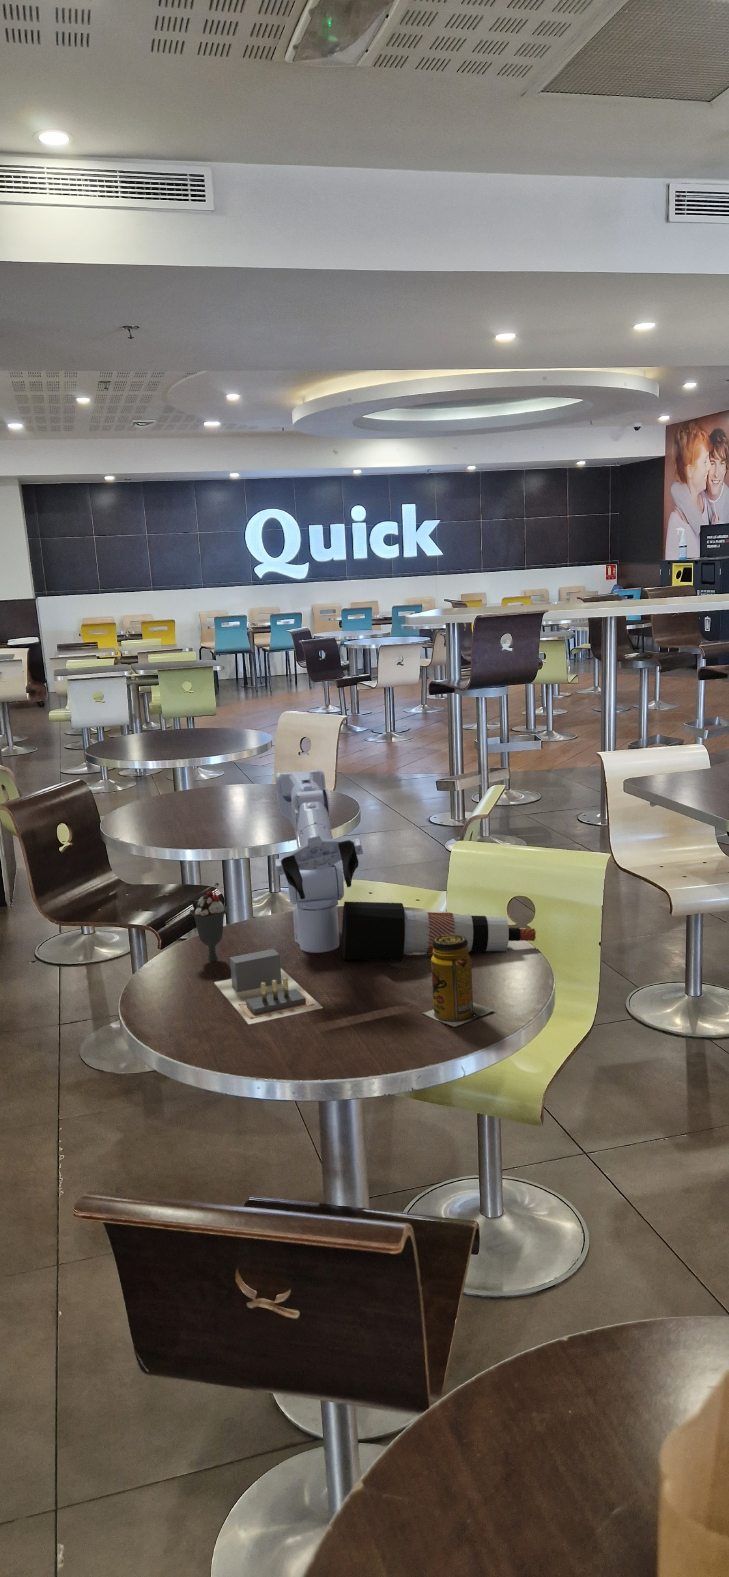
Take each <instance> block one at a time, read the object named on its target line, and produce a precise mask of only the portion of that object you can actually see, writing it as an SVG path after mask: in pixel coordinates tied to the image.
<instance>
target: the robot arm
mask: <svg viewBox="0 0 729 1577" xmlns="http://www.w3.org/2000/svg"><path fill="white" fill-rule="evenodd" d="M325 778H326V777H325V773H324V771H323V770H322V769H321V768H318V769H315V770H314V769H313V770H304V771H303V770H301V771H288V772H281V771H278V772H277V773H276V774H275V788H276V800H277V804H278V810H279V811H280V815H281V816H282V817H284V818H286V819H288V820H290V823H291V825H292V828H293V830H294V834H295V839H296V845H297V848H296V849H294V850H293V851H291V852H289V853H287V854H286V855H284V856H283V857H280V858H278V859H277V858H276V859H275V868H276V871H277V874H278V876H282V875H285V878H286V881H287V884H288V885H287V886H288V887H287V889H288V898H289V903H291V904H292V905H293V906H294V908H293V911H292V920H293V931H294V932H293V934H294V942H295V943H297V944H298V945H299V948H300V950H302V951H303V952H306V953H314V954H315V953H317V954H319V953H327V952H331V951H334V950H336V949H337V948H339V946H340V934H339V933H340V932H339V917H338V906H339V901H342V900H343V897H344V896H345V887H344V885H345V884H346V888H351V887H352V879H353V877H354V874H355V871H356V869H358V867H359V859H358V856H360V855H363V854H364V851H363V850H364V849H363V847H362V844H361V840H360V838H354V839H345V838H344V839H343V838H342V839H334V838H333V833H332V832H333V831H332V827H331V822H330V816H331V815H330V814H331V813H330V812H331V809H330V808H331V807H330V801H329V799H330V798H329V794H328V791H327V789H326V779H325ZM338 862H341V864H342V868H341V867H340V864H339V863H338ZM344 883H345V884H344Z"/></svg>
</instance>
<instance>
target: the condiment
mask: <svg viewBox="0 0 729 1577" xmlns="http://www.w3.org/2000/svg"><path fill="white" fill-rule="evenodd" d="M467 945H468V941H467V939H466V938H465V937H463V936H461V935H442V936H439V937H436V938H435V939H434V940H433V953H432V956H431V958H430V963H431V964H430V965H431V966H430V967H431V968H430V969H431V981H432V982H431V983H432V984H431V986H432V987H431V988H432V1002H433V1005H432V1006H433V1008H432V1009H430V1010H428V1011H425V1012H422V1014H424V1015H425V1016H427V1017H429V1018H431V1019H434V1020H435V1021H438V1022H441V1023H442V1024H447V1026H448V1025H449V1026H451V1027H458V1026H460V1025H463V1024H466V1023H468V1022H471V1021H473V1020H475V1019H477V1018H479V1017H483V1016H485V1015H487V1014H489V1013H491V1012H494V1011H495V1009H493V1008H489V1007H486V1006H483V1005H481V1004H479V1003H478V1004H477V1003H476V1002H474V994H473V992H474V991H473V990H474V989H473V974H472V973H473V972H472V969H473V968H472V956H471V955H470V954H469V952H468V946H467ZM474 1015H475V1016H474Z"/></svg>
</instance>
